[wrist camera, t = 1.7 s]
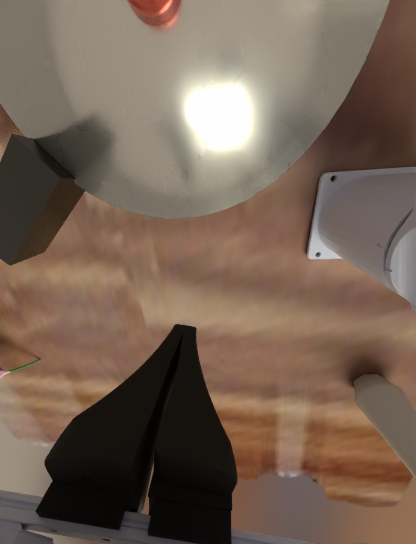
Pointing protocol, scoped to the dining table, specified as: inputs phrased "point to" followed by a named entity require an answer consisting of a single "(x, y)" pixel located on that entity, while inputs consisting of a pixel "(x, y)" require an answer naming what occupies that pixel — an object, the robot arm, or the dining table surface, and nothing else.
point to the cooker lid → (164, 102)
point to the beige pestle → (389, 415)
